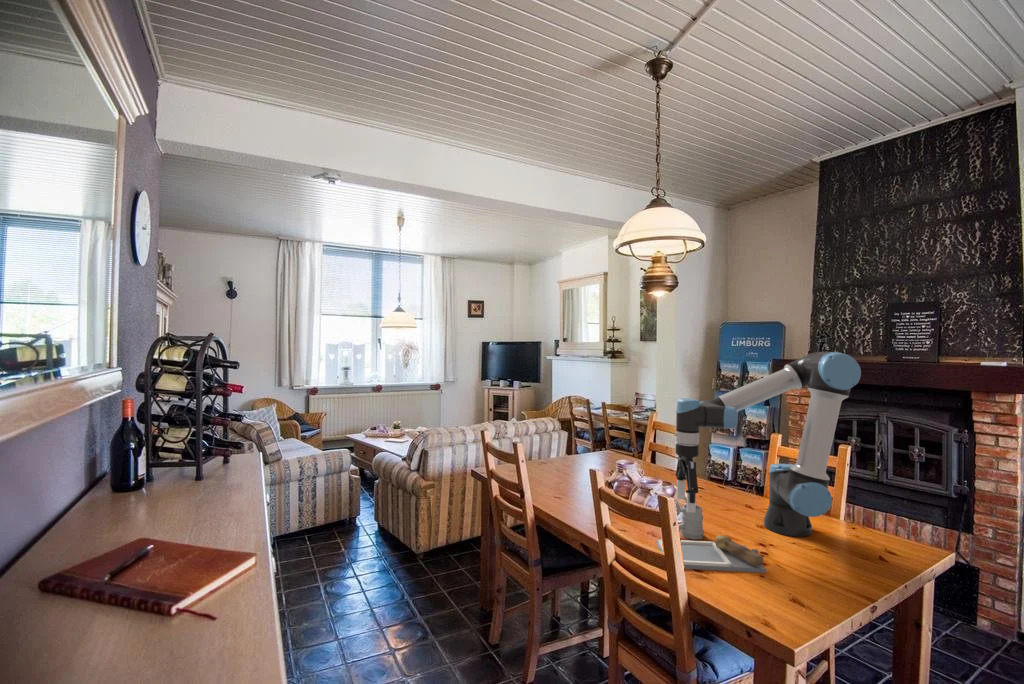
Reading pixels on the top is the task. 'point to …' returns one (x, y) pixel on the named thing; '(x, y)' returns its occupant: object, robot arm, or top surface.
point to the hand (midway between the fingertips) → (685, 505)
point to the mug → (691, 522)
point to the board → (713, 557)
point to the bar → (739, 550)
